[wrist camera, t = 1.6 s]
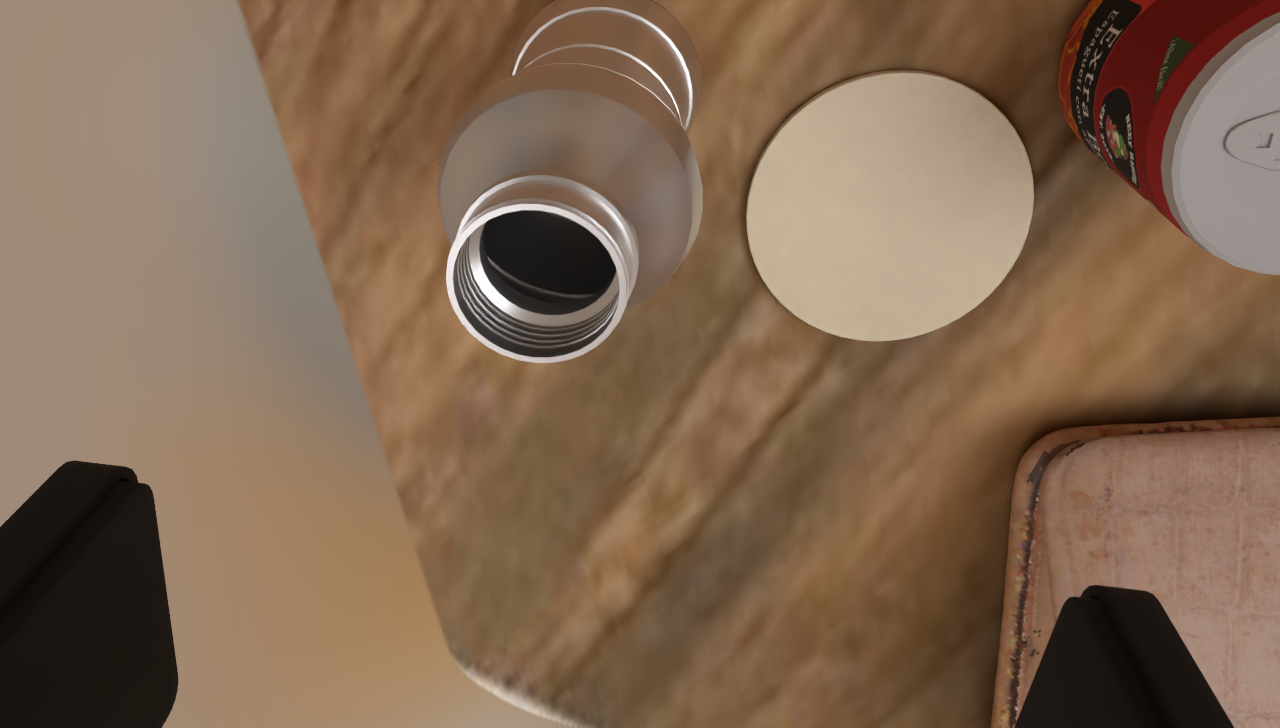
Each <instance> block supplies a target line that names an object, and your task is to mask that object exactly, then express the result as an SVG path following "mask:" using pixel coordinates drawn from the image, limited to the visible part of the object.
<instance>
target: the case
mask: <svg viewBox="0 0 1280 728" xmlns="http://www.w3.org/2000/svg"><path fill="white" fill-rule="evenodd" d="M1011 504H1012V505H1011V512H1010V526H1009V536H1008V540H1009V541H1008V554H1007V563H1006V572H1005V586H1004V589H1005V595H1004V600H1003V615H1002V623H1001V634H1000V646H999V654H998V665H997V673H996V680H995V693H994V701H993V710H992V720H991V728H1014V727H1015V724H1016V722H1017V719H1018V716H1019V714H1020V711H1021V709H1022V706H1023V704H1024V701H1025V699H1026V696H1027V694H1028V691H1029V689H1030V686H1031V684H1032V681H1033V679H1034V676H1035V674H1036V671H1037V669H1038V666H1039V664H1040V661H1041V659H1042V656H1043V654H1044V651H1045V649H1046V646H1047V644H1048V641H1049V639H1050V636H1051V634H1052V631H1053V629H1054V626H1055V624H1056V621H1057V619H1058V616H1059V614H1060V611H1061V609H1062V606H1063V605H1064V603H1065V601H1066V600H1067V599H1068V598H1069V597H1080V596H1081V594H1082V593H1083V591H1084V590H1085V589H1086V588H1087V587H1088V586H1091V585H1102V586H1110V587H1118V588H1127V589H1135V590H1143V591H1148V592H1150V593H1152V594H1154V595H1155V597H1156V598H1157V599H1158V600H1159V601H1160V603H1161V605H1162V606H1163V608H1164V610H1165V612H1166V613H1167V615H1168V617H1169V618H1170V620H1171V622H1172V623H1173V625H1174V627H1175V628H1176V630H1177V632H1178V633H1179V635H1180V637H1181V639H1182V640H1183V642H1184V644H1185V645H1186V647H1187V649H1188V650H1189V652H1190V654H1191V655H1192V657H1193V659H1194V660H1195V662H1196V664H1197V666H1198V667H1199V669H1200V671H1201V672H1202V674H1203V676H1204V677H1205V679H1206V681H1207V682H1208V684H1209V686H1210V687H1211V689H1212V691H1213V693H1214V694H1215V696H1216V698H1217V699H1218V701H1219V703H1220V704H1221V706H1222V708H1223V709H1224V711H1225V713H1226V714H1227V716H1228V718H1229V720H1230V721H1231V723H1232V725H1233V726H1234V728H1280V417H1259V418H1245V419H1220V420H1200V421H1173V422H1163V423H1144V424H1137V423H1134V424H1112V425H1096V426H1082V427H1071V428H1065V429H1061V430H1057V431H1054V432H1052V433H1050V434H1047V435H1046V436H1044V437H1042V438H1041V439H1039V440H1038V441H1036V442H1035V443H1034V444H1033V445H1032V446H1031V447H1030V448H1029V449H1028V450H1027V451H1026V452H1025V454H1024V455H1023V457H1022V458H1021V460H1020V462H1019V465H1018V468H1017V471H1016V475H1015V480H1014V486H1013V493H1012V500H1011Z"/></svg>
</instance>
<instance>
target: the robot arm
mask: <svg viewBox="0 0 1280 728" xmlns="http://www.w3.org/2000/svg"><path fill="white" fill-rule="evenodd" d="M177 687H178V672H177V665H176V657H175V650H174V643H173V635H172V628H171V621H170V614H169V606H168V599H167V592H166V584H165V577H164V570H163V562H162V555H161V548H160V540H159V533H158V525H157V518H156V511H155V504H154V497H153V493H152V490H151V488H150V487H149V485H146V484H143V483H138V480H137V476H136V474H135V473H134V471H133V470H132V469H130V468H127V467H122V466H114V465H106V464H98V463H89V462H81V461H70V462H66V463H65V464H63V465H62V466H61V467H59V468H58V469H57V471H55V472H54V473H53V474H52V476H50V477H49V479H48V480H47V481H45V483H43V484H42V486H40V487H39V489H38V490H37V491H36V492H35V493H34V494H33V495H32V496H31V497H30V498H29V499H28V500H27V501H26V502H25V503H24V504H23V505H22V506H21V507H20V508H19V509H18V510H17V511H16V512H15V513H14V514H13V515H12V516H11V517H10V518H9V519H8V520H7V521H6V522H5V523H4V524H3V525H2V526H1V527H0V728H162V726H163V724H164V723H165V721H166V719H167V717H168V716H169V714H170V711H171V710H172V707H173V704H174V701H175V698H176V694H177ZM1014 728H1234V726H1233V725H1232V723H1231V721H1230V720H1229V718H1228V716H1227V714H1226V713H1225V711H1224V709H1223V708H1222V706H1221V704H1220V703H1219V701H1218V699H1217V698H1216V696H1215V694H1214V693H1213V691H1212V689H1211V687H1210V686H1209V684H1208V682H1207V681H1206V679H1205V677H1204V676H1203V674H1202V672H1201V671H1200V669H1199V667H1198V666H1197V664H1196V662H1195V660H1194V659H1193V657H1192V655H1191V654H1190V652H1189V650H1188V649H1187V647H1186V645H1185V644H1184V642H1183V640H1182V639H1181V637H1180V635H1179V633H1178V632H1177V630H1176V628H1175V627H1174V625H1173V623H1172V622H1171V620H1170V618H1169V617H1168V615H1167V613H1166V612H1165V610H1164V608H1163V606H1162V605H1161V603H1160V601H1159V600H1158V599H1157V598H1156V597H1155V595H1154V594H1152V593H1150V592H1148V591H1143V590H1135V589H1127V588H1118V587H1110V586H1102V585H1091V586H1088V587H1087V588H1086V589H1085V590H1084V591H1083V593H1082V594H1081V596H1080V597H1069V598H1068V599H1067V600H1066V601H1065V603H1064V605H1063V606H1062V609H1061V611H1060V614H1059V616H1058V619H1057V621H1056V624H1055V626H1054V629H1053V631H1052V634H1051V636H1050V639H1049V641H1048V644H1047V646H1046V649H1045V651H1044V654H1043V656H1042V659H1041V661H1040V664H1039V666H1038V669H1037V671H1036V674H1035V676H1034V679H1033V681H1032V684H1031V686H1030V689H1029V691H1028V694H1027V696H1026V699H1025V701H1024V704H1023V706H1022V709H1021V711H1020V714H1019V716H1018V719H1017V722H1016V724H1015V727H1014Z"/></svg>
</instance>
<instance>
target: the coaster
mask: <svg viewBox="0 0 1280 728" xmlns="http://www.w3.org/2000/svg"><path fill="white" fill-rule="evenodd" d="M1033 204H1034V183H1033V176H1032V170H1031V165H1030V161H1029V158H1028V155H1027V152H1026V150H1025V147H1024V145H1023V143H1022V141H1021V139H1020V137H1019V135H1018V133H1017V131H1016V130H1015V128H1014V127H1013V126H1012V124H1011V123H1010V122H1009V120H1008V119H1007V118H1006V116H1005V115H1004V114H1003V113H1002V112H1001V111H1000V110H999V109H998V108H997V107H996V106H995V105H994V104H993V103H992V102H991V101H990V100H988V99H987V98H985V97H984V96H983V95H981V94H980V93H979V92H977V91H976V90H974V89H972V88H971V87H969V86H967V85H965V84H963V83H961V82H959V81H957V80H954V79H951V78H948V77H945V76H942V75H939V74H934V73H929V72H924V71H915V70H889V71H879V72H874V73H869V74H864V75H860V76H857V77H854V78H851V79H848V80H845V81H842V82H840V83H838V84H836V85H834V86H832V87H830V88H828V89H826V90H824V91H822V92H821V93H819V94H817V95H816V96H814V97H813V98H811V99H810V100H808V101H807V102H806V103H804V104H803V105H802V106H801V107H800V108H798V109H797V110H796V111H795V112H793V113H792V114H791V115H790V116H789V118H788V119H787V120H786V121H785V122H784V123H783V124H782V125H781V126H780V127H779V128H778V130H777V131H776V132H775V134H774V135H773V137H772V138H771V139H770V141H769V142H768V143H767V145H766V147H765V149H764V151H763V153H762V154H761V156H760V158H759V160H758V163H757V165H756V168H755V170H754V173H753V175H752V179H751V183H750V187H749V191H748V196H747V206H746V229H747V236H748V242H749V247H750V251H751V254H752V257H753V260H754V263H755V266H756V268H757V270H758V272H759V274H760V276H761V278H762V280H763V281H764V283H765V284H766V286H767V287H768V289H769V290H770V291H771V293H772V294H773V295H774V296H775V297H776V298H777V300H778V301H779V302H780V303H781V304H782V305H783V306H784V307H785V308H787V309H788V310H789V311H790V312H791V313H793V314H794V315H795V316H797V317H798V318H800V319H801V320H803V321H804V322H806V323H808V324H809V325H811V326H813V327H816V328H818V329H820V330H822V331H824V332H827V333H830V334H833V335H837V336H840V337H844V338H849V339H855V340H864V341H893V340H899V339H905V338H911V337H915V336H918V335H922V334H925V333H929V332H931V331H934V330H936V329H939V328H941V327H944V326H946V325H948V324H949V323H951V322H953V321H955V320H957V319H959V318H961V317H962V316H963V315H965V314H966V313H968V312H969V311H971V310H972V309H974V308H975V307H976V306H978V305H979V304H980V303H981V302H982V301H983V300H984V299H986V298H987V297H988V296H989V295H990V294H991V293H992V292H993V291H994V290H995V289H996V287H997V286H998V285H999V284H1000V283H1001V282H1002V281H1003V279H1004V278H1005V276H1006V275H1007V274H1008V272H1009V271H1010V269H1011V268H1012V267H1013V265H1014V263H1015V261H1016V259H1017V258H1018V256H1019V254H1020V252H1021V250H1022V247H1023V245H1024V242H1025V240H1026V237H1027V235H1028V231H1029V227H1030V223H1031V219H1032V213H1033Z"/></svg>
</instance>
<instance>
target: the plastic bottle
mask: <svg viewBox="0 0 1280 728" xmlns="http://www.w3.org/2000/svg"><path fill="white" fill-rule="evenodd" d="M701 93H702V74H701V69H700V64H699V59H698V55H697V53H696V50H695V48H694V45H693V43H692V41H691V38H690V37H689V35H688V34H687V32H686V31H685V30H684V28H683V27H682V25H681V24H680V22H679V21H678V20H677V19H676V18H675V17H674V16H673V15H672V14H671V13H669V12H668V11H667V10H666V9H665V8H664V7H662V6H661V5H659V4H658V3H656V2H655V1H653V0H554V1H553V2H551V3H550V4H548V5H547V6H546V7H544V8H543V9H541V10H540V11H539V12H538V13H537V15H536V16H535V17H534V18H533V19H532V20H531V21H530V22H529V23H528V25H527V26H526V28H525V30H524V31H523V33H522V35H521V37H520V38H519V40H518V43H517V46H516V49H515V52H514V55H513V60H512V68H511V76H510V77H508V78H506V79H504V80H502V81H501V82H500V83H498V84H497V85H495V86H494V87H492V88H491V89H490V90H488V91H487V92H485V93H484V94H483V95H482V96H481V97H480V98H478V99H477V100H476V101H475V102H474V103H473V104H472V105H471V106H470V107H469V108H468V110H467V111H466V112H465V113H464V114H463V115H462V116H461V117H460V118H459V120H458V121H457V123H456V125H455V126H454V128H453V130H452V132H451V133H450V135H449V137H448V139H447V140H446V144H445V147H444V150H443V153H442V156H441V159H440V163H439V172H438V184H437V190H438V198H439V206H440V213H441V218H442V223H443V226H444V229H445V232H446V235H447V237H448V240H449V243H450V245H451V247H452V248H451V251H450V254H449V257H448V263H447V273H446V282H447V290H448V295H449V298H450V301H451V304H452V307H453V309H454V311H455V313H456V314H457V316H458V318H459V319H460V321H461V323H462V324H463V325H464V326H465V327H466V328H467V329H468V331H469V332H470V333H471V334H472V335H473V336H474V337H475V338H477V339H478V340H479V341H480V342H482V343H483V344H484V345H485V346H487V347H489V348H491V349H493V350H494V351H496V352H498V353H500V354H502V355H505V356H508V357H511V358H514V359H516V360H521V361H527V362H533V363H553V362H559V361H565V360H569V359H572V358H575V357H578V356H581V355H583V354H585V353H587V352H588V351H590V350H592V349H593V348H595V347H597V346H598V345H599V344H600V343H601V342H602V341H604V340H605V339H606V338H607V337H608V336H609V335H610V333H611V332H612V330H613V329H614V328H615V326H616V325H617V324H618V322H619V321H620V319H621V317H622V314H623V312H624V311H626V310H628V309H630V308H632V307H634V306H635V305H637V304H639V303H640V302H642V301H644V300H646V299H647V298H649V297H650V296H651V295H652V294H653V293H654V292H655V291H657V290H658V289H659V288H660V287H661V286H662V285H663V284H664V283H666V282H667V281H668V280H669V279H670V278H671V277H672V276H673V275H674V273H675V272H676V271H677V269H678V268H679V267H680V265H681V264H682V263H683V261H684V260H685V259H686V257H687V256H688V254H689V252H690V249H691V247H692V245H693V243H694V241H695V239H696V237H697V234H698V230H699V225H700V221H701V216H702V204H703V187H702V182H701V178H700V173H699V168H698V163H697V160H696V155H695V152H694V150H693V147H692V145H691V143H690V140H689V138H688V136H687V133H688V131H689V129H690V127H691V125H692V122H693V120H694V118H695V116H696V113H697V111H698V107H699V102H700V97H701Z"/></svg>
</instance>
